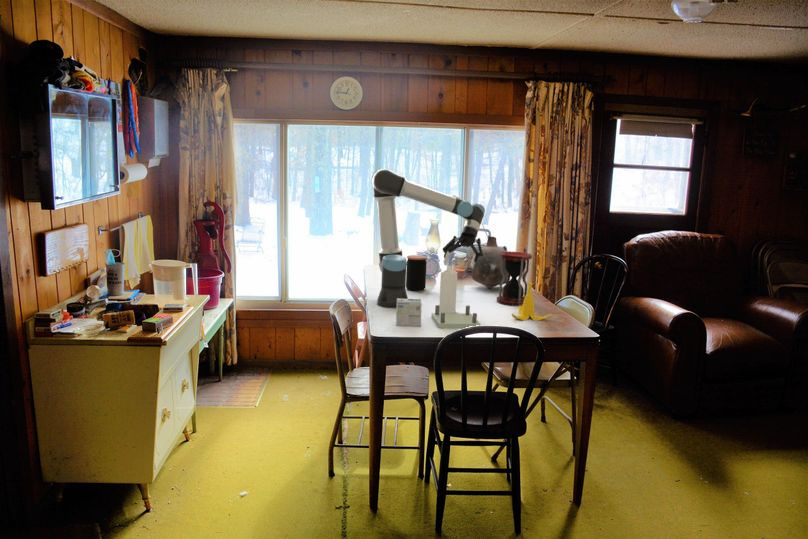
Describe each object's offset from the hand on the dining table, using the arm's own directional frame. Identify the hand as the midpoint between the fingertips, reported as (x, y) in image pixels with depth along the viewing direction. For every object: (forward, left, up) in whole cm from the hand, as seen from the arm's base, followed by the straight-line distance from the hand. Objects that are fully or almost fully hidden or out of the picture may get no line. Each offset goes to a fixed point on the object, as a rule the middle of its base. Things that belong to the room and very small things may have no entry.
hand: (458, 265), depth 304 cm
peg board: (-6, -28, -21) cm, 35 cm away
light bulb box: (-27, -31, -21) cm, 46 cm away
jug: (+29, +48, -21) cm, 60 cm away
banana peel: (+32, -19, -21) cm, 43 cm away
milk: (-6, -9, -21) cm, 24 cm away
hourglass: (+32, +14, -21) cm, 41 cm away
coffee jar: (-14, +42, -21) cm, 49 cm away
